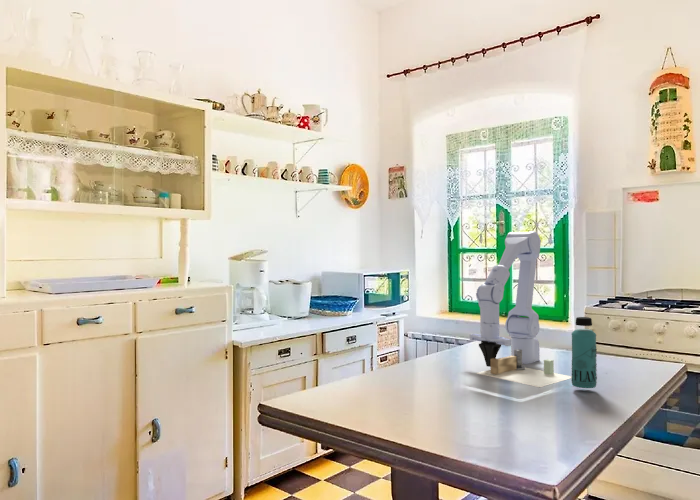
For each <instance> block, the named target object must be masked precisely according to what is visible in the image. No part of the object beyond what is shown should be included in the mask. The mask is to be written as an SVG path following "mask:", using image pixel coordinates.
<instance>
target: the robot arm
mask: <svg viewBox="0 0 700 500" xmlns="http://www.w3.org/2000/svg"><path fill="white" fill-rule="evenodd" d="M541 243H542V239H541V238H540V236H539V233H538V232H537V231H517V232H515V231H509V232H508V233H507V235H506V237H505V239H504V245H505V249H504V251H503V253H502V256H501V257H500V260H499V263H498V264H497V265H494V266H493V267H492V269H491V271H490V273H489V275H488V276H487V277H486V279H485V281H484V283H482V284H481V285H479V286H478V288H477V289H476V290H477V291H476V293H475V296H476V299H477V301H478V307H479V311H480V314H479V315H480V326H479V327H480V333H470V334H469V341H476V342H480V343H478V347H479V349H480V350H481V352H482V354H483V358H484V361H485V366H486V367H489V368H491V367H490V359H492V358H496V359H497V355H498V354H499V353H498V352H499V351H500V349H501V348H502V346H505V347H510V356H512V355H513V356H514V349H521V350H522V365H523V364H525V365H526V364H533V363H535V362H538V361H540V357H541V355H540V341H539V340H538V338H537V337H536V336H537V335H538V334H539V333H540V332H539V331H540V320H539V318H540V317H539V314H538V313H537V311H535V310H534V309H533V308H532V307H533V300H534V299H533V298H534V297H533V296H534V291H535V290H534V288H535V280H536V269H537V260H538V258H539V257H540V253H541ZM516 259H518V260H519V261H520V262H519V271H518V281H517V288H516V299H515V306H514V307H513V308H512V309H510V310H509V311H508V314H507V318H506V320H505V327H504V328H505V330H506V333H507V334H508V336H509V337H510V338H508V337H507V338H506V337H502V336H500V303H501V301H502V300H503V299H504V291H505V285H506V283H507V282H508V280H509V278H510V275H511V274H510V269H511V267H512V265H513V264H514V262H515V260H516Z"/></svg>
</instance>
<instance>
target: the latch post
mask: <svg viewBox="0 0 700 500" xmlns="http://www.w3.org/2000/svg"><path fill="white" fill-rule="evenodd" d="M554 365H555V363H554V359H549V358H547V359H544V360H543V371H544V373H545V374H554V373H555V372H554V371H555V369H554V368H555V367H554Z"/></svg>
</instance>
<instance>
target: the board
mask: <svg viewBox="0 0 700 500" xmlns="http://www.w3.org/2000/svg"><path fill="white" fill-rule="evenodd" d="M476 374H478V375H480V376H481V375H482V376H487V377H492V378H495V379H500V380H504V381H509V382H514V383H518V384H521V385H522V384H523V385H527V386H532V387H536V388H543V387H547V386H549V385H553V384H557V383H560V382H564V381H566V380H571V379H572V375H571V376H570V375H567V374H562V373H561V374H560V373H556V372H554V374H545V373H544V370H540V369H535V368H530V367H525V370H510V371H506V372H502V373H498V374H491V369H488V370H482V371H479V372H476Z"/></svg>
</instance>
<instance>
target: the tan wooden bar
mask: <svg viewBox="0 0 700 500" xmlns="http://www.w3.org/2000/svg"><path fill="white" fill-rule="evenodd" d="M489 368H490V370H491V374H498V373H502V372H506V371H510V370H515V369H516V356H513V355H512V356H511V355H507V356H504V357H499V358H497V357H496V358H492V359H490V367H489Z"/></svg>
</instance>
